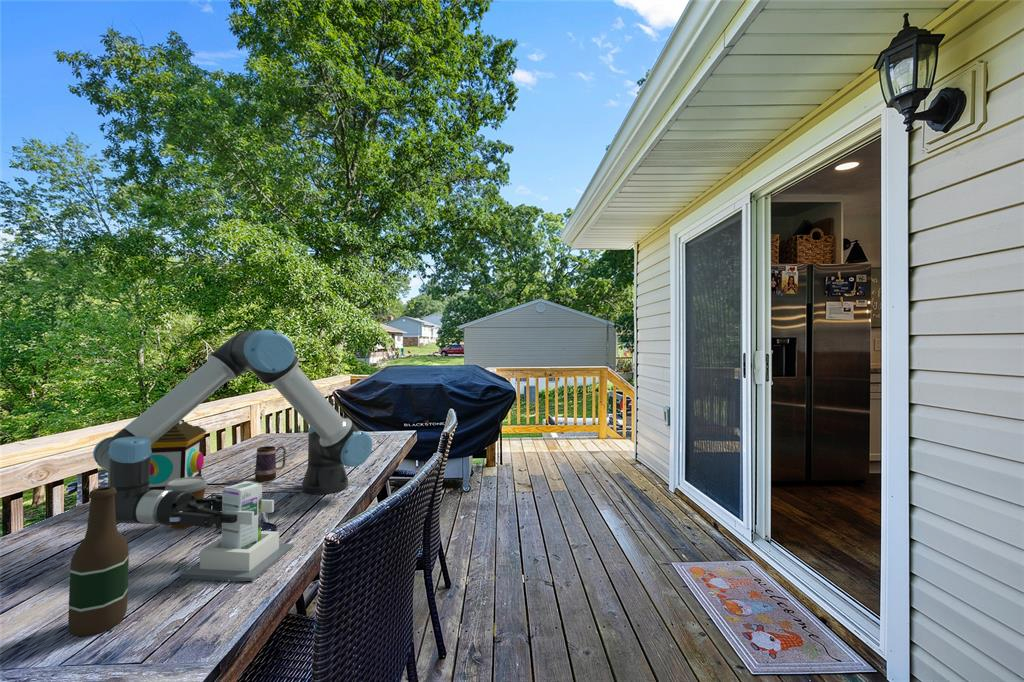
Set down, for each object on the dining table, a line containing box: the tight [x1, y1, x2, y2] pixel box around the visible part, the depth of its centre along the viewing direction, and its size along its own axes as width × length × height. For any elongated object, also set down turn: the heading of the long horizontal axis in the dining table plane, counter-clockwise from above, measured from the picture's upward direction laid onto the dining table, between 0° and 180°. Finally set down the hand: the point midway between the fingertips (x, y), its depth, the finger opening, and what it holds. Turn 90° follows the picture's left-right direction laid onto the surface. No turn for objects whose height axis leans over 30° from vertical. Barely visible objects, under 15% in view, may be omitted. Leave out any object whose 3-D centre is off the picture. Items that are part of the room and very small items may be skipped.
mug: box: [254, 444, 287, 483], centre depth 167 cm, size 10×7×12 cm
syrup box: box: [221, 480, 263, 549], centre depth 103 cm, size 6×6×14 cm
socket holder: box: [179, 530, 295, 582], centre depth 103 cm, size 16×16×5 cm
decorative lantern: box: [149, 419, 207, 490], centre depth 141 cm, size 20×20×30 cm
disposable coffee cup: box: [165, 476, 208, 530], centre depth 124 cm, size 10×10×12 cm
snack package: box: [261, 512, 278, 532], centre depth 121 cm, size 12×6×12 cm
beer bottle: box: [67, 486, 130, 638], centre depth 80 cm, size 8×8×24 cm
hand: (263, 511), depth 103 cm, fingers closed on syrup box, 7 cm apart
